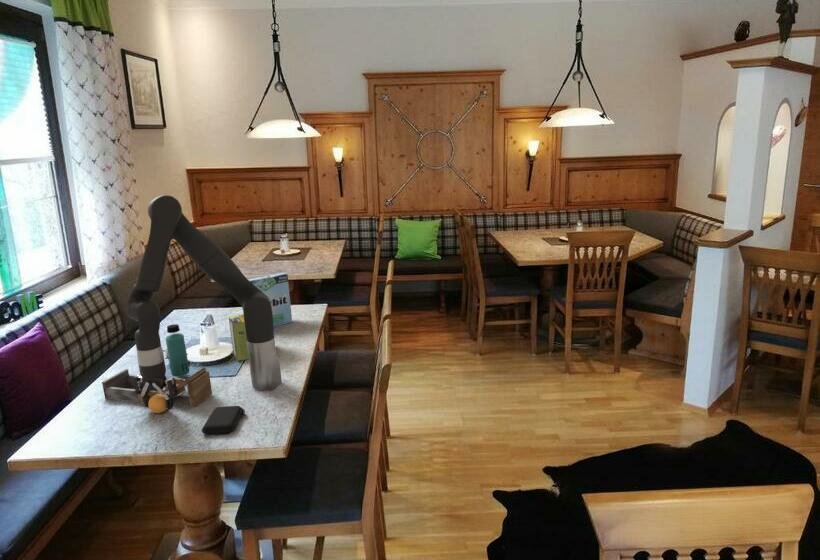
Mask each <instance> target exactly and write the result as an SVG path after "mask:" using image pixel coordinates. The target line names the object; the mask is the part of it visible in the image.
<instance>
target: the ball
mask: <svg viewBox="0 0 820 560" xmlns="http://www.w3.org/2000/svg"><path fill="white" fill-rule="evenodd" d="M148 406H149V407H148V409H149V410H150V411H151V412H153V413H155V414H161V413H163V412H165V411H166V410H168V409H167V405H166V398H165V397H164V396H163V395H161V394H156V395H154V396H152V397H151V398H150V400H149V403H148Z"/></svg>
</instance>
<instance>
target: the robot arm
mask: <svg viewBox="0 0 820 560" xmlns="http://www.w3.org/2000/svg"><path fill="white" fill-rule="evenodd" d="M147 215H148V217H149V218H150V228H149V229H150V231H149V236H148V239H147V243H146V246H145V249H144V252H143V254H142V259H141V262H140V264H139V270H138V273H137V279H136V282H135V285H134V287H133V288H132V291H131V293H130V295H129V297H128V299H127V302H126V308H125V310H126V315H127V317H129V319H131V320H133V321H135V322H138V329H137V330H136V331H135V332H134V342H135V346H136V358H137V363H138V368H139V369H138V370H139V374H137V375H138V376H136V377H135V378H134V384H135V392H136V394H137V395H138V394H140V395H141V396H142V398H143V406H144V408H149V406H148V403H149V400H150V394H148V393H149V392H150V391H156V392H159V393H160V394H161V395H163V396H164V397H165V398H166V405H167V409H166V410H168V411H169V410H172V409H174V406H175V402H174V399H173V397H175V396H176V395H178V390H177V386H176V381H175V378H176V377H174V378H171V379H167V378H166V377H167V376H166V373H167V368H166V367H167V366H166V362H165V360H166V359H165V355H164V352H163V350H164V349H163V348H162V342H161V337H160V328H161V327H160V326H161V310H160V307H159V306H158V305H157V302H154V301H153V300H151V299H152V297H153V295H154V293H155V294H156V293H158V292H159V291H160V289H161V288H162V282H163V278H164V274H165V270H166V269H165V268H166V263H167V258H168V253H169V250H170V249H169V248H170V245H171V241H172V238H173V240H174V241H175V242H176V243H177V244H178V245H179V246H180V248H181V249H183V251H184V252H185V253H186V255H187V256H188V258H190V259H191V260H192V262H193V263H194V264H195V265H196V266H197V267H198V268H199V269H200V270H201V271H202V272H203V273H204V274H205V275H206V276H207V277H208V278H209V279H210V280H212V282H214V283H216V284H217V285H219V286H221V287H222V288H223V289H225V290H226V291H228V293H230V295H232V297H234V299H235V300H236V301H237V302H238V304H239V305H240V306H241V308H242V312H243V313H242V314H244V322H245V330H246V339H247V347H248V355H249V359H248V362H249V368H250V369H249V371H250V377H251V378H250V379H251V385H252V389H254V390H255V391H267V390H275V389H276V388H277V387H278V386H279V385H280V384H281V383H282V381H283V380H282V371H281V364H280V357H278V356H277V349H276V348H277V347H276V340H275V326H274V325H273V314H272V307H271V303H270V300H269V298H268V297H267V295H266V294H264V293H263V292H262V291H261V290H259V289H258V288H257V287H256V286H255V285H254V284H252V283H251V282H250V281H249V278H247V277H246V276H245V275H244V273H243V272H242V271H241V270H240V268H239V267H238V266H237V265H236V263H235V262H234V261H233V259H231V258H230V256H229V255H228V254H227V253H226V251H224V250H223V249H222V248H221V246H219V245H218V244H217V243H216V242H215V241H214V240H212V239H211V238H210V237H209V236H207V235H206V234H205V233H203V232H202V231H200V230H199V229H198V228H196V227H195V226H194V225H193V223H191V222H190V220H189V219H188V218H187V217H186V216H185V215H184V213H183V209H182V204H181V203H180V202H179V200H178V199H177V198H175V196H171V195H168V194H163V195H159V196H157V197H155V198H153V199H152V200H151V201H150V202H149V203H148V206H147ZM275 347H276V348H275ZM143 383H144V384H145V386H143ZM139 387H140V389H139ZM164 387H165V390H162V389H163V388H164ZM173 391H174V392H173ZM166 392H167V393H168V394H169V395H168V394H167V393H166ZM178 396H179V395H178ZM175 398H176V397H175Z"/></svg>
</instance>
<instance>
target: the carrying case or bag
mask: <svg viewBox="0 0 820 560" xmlns="http://www.w3.org/2000/svg"><path fill="white" fill-rule="evenodd" d="M245 415H246V411H245V409H244V408H243V407H241V406H240V405H230V406H229V405H228V406H217V407H215V408H213V410H212V411H211V413H210V415H209V417H208V418H207V420H206V422H205V423H204V424H203V427H202V428H201V432H202V433H203V434H204V435H205V436H213V435H214V436H215V435H227V434H228V435H229V434H232V433H233V431H234V430H235V431H236V428H237V426H238V424H239V423H240V420H241V418H242V416H245Z"/></svg>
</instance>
